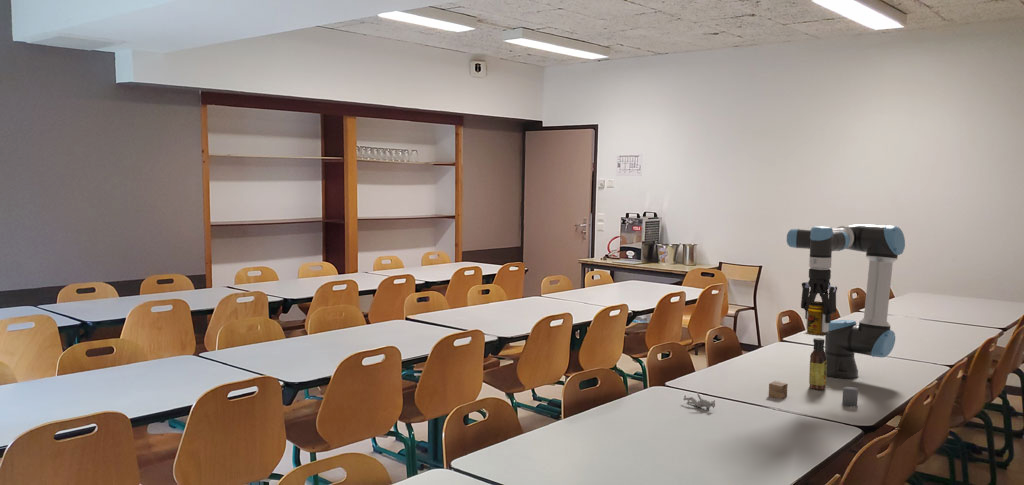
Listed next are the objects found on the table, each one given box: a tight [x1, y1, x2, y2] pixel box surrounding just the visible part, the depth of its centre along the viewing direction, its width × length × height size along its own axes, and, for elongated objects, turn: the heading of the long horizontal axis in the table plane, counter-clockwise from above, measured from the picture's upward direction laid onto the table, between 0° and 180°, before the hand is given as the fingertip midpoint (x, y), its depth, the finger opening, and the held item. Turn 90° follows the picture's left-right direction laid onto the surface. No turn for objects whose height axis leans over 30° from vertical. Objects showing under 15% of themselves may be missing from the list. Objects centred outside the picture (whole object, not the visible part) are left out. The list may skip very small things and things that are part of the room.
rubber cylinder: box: [841, 386, 859, 408], centre depth 269 cm, size 5×5×6 cm
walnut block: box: [768, 380, 788, 400], centre depth 279 cm, size 5×5×5 cm
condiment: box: [803, 300, 830, 337], centre depth 272 cm, size 7×8×12 cm
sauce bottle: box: [808, 337, 827, 391], centre depth 290 cm, size 6×6×20 cm
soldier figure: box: [683, 391, 716, 409], centre depth 264 cm, size 8×5×12 cm
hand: (817, 329), depth 272 cm, fingers closed on condiment, 6 cm apart
